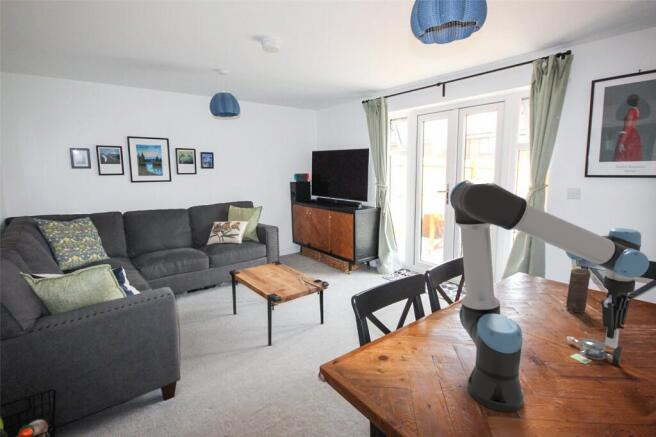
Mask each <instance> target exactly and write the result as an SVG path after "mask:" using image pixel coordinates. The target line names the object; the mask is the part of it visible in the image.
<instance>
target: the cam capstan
mask: <svg viewBox="0 0 656 437" xmlns="http://www.w3.org/2000/svg"><path fill="white" fill-rule="evenodd" d="M566 339H567V341H568V342H571V343H575V344H577V345H579V346H582V348H581V349H582V351H581V352H580V351H579V352H578V354H579V355H581V356H585V355H587V356H589V357H592V358H591V359H593V358H598V359H600V358H603V356H605V358H608V359H610V360H611V364H612V365H614V366H620V364H621V357H622V353H623V352H622V351H623V346H621V345H619V344H618V345H617V348H615V349H614V348H613V351H612V355H611V354H610V353H607V352H606V351H605V349H606V348H607V345H605V342H602V341H599V340H597V339H594V338H589V337H587V338H586V337H585V338H582V339H581V341H580V340H577V339H576V338H575V337H574V336H570V335H568V336H566ZM587 356H586V357H587ZM589 357H588V358H589ZM598 359H597V360H598Z"/></svg>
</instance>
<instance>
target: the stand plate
mask: <svg viewBox="0 0 656 437" xmlns="http://www.w3.org/2000/svg"><path fill="white" fill-rule="evenodd" d="M581 351H582V348H580V349H579V352H581ZM569 357H570V358H572V359H574V360H576V361H578V362H580V363H582V364H584V365H585V364H588V363H591V362H593V360H592V359H594V360H600V361H602V360H605V359H606V357H605V356H603V358H600V359H598V358H592V357H589V356H587V355H582V356H581V355H580V354H579V353H574V354H572V355H569ZM587 357H588V358H587Z"/></svg>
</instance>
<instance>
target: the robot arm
mask: <svg viewBox="0 0 656 437" xmlns="http://www.w3.org/2000/svg"><path fill="white" fill-rule="evenodd" d="M449 202H450V205H451V207H452V208H453V210H454V220H455V224H456V225H457V226H458V227H459V228H460V235H461V248H462V259H463V260H462V261H463V263H462V264H463V275H464V285H465V286H464V288H465V296H464V297H463V298H462V299H461V306H460V308H459V312H458V313H459V320H460V323H461V326H462V327H463V329H464V330H465V331H466V333H467V335H468V336H469V337H470V338H471V341H472V342H473V344H474V345H475V348H476V352H475V364H474V367H473V369H472V371H471V373H470V374H469V377H468V379H467V380H468V381H467V391H468V394H469V395H470V396H471V398H472V399H473V400H475V402H477V403H478V404H480V405H482V406H484V407H486V408H487V409H490V410H493V411H497V412H504V413H511V412H516V411H519V410H520V409H521V408H523V404H524V397H525V396H524V392H523V391H524V390H523V388H522V386H521V381H520V378H519V376H520V364H521V355H522V346H523V339H524V338H523V331H522V328H521V327H520V325H519V324H518V323H517V322H516V321H515V320H513V319H512V318H510V317H509V318H508V317H507V316H506V315H504V314H501V304H500V303H501V301H500V300H499V299H498V298H497V297H496V296H495V289H494V286H495V285H494V274H493V273H494V272H493V259H492V258H493V254H492V242H491V226H492V225H493V226H496V227H500V228H502V229H504V230H506V231H512V230H516V231H517V232H520V233H522V234H525V235H528V236H529V237H531V238H535V239H537V240H538V241H541V242H544V243H546V244H547V245H551V246H553V247H556V248H558V249H560V250H562V251H565V253H566V255H567V257H568V258H569V259H571V260H573V261H580V262H581V261H588V262H590V263H592V264H594V265H597V266H599V267H602V268H604V277H603V284H602V287H603V288H605V289H606V290H607V294H606V298H605V300H601V301H600V305H601V308H602V312H601V313H602V327H604V328H606V333H605V340H604V343H605V345H606V347H609V348H611V349H613V350H614V349H615V348H617V345H619V344H618V343H619V336H620V330H624V329H625V327H624V326H625V323H626V319H627V315H628V311H629V308H630V303H631V301H632V299H633V296H632V295H629V294H632V293H634V292H635V290H636V278H638V277H641V276H643V275H644V274H645V273H646V272H647V271H648V268H649V267H650V261H649V258H648V256H647V255H646V254H645V253H643V252H641V247H642V234H641V232H640V231H639V230H637V229H636V230H635V229H631V228H621V227H620V228H619V227H616V228H615V227H614V228H610V229H609V232H608V235H599V234H598V233H595V232H594V231H593V232H592V231H590V230H588V229H586V228H584V227H581V226H578V225H576V224H574V223H572V222H569V221H567V220H565V219H562V218H560V217H558V216H556V215H553V214H551V213H549V212H546V211H544V210H542V209H539V208H537V207H534V206H532V205H530V204H528V201H527V199H526V198H524V197H521V196H519V195H517V194H515V193H512V192H511V191H509V190H507V189H506V188H503V187H502V186H500V185H498V184H496V183H495V182H491V181H488V180H482V179H477V178H470V179H464V180H461V181H460V182H458V183H456V184H455V185H454V187H453V188H452V190H451V191H450V195H449Z"/></svg>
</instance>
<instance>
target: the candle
mask: <svg viewBox="0 0 656 437" xmlns="http://www.w3.org/2000/svg"><path fill="white" fill-rule="evenodd" d="M590 279H591V270H590V269H589V270H588V269H585V268H573V269H571V270H570V276H569V283H568V290H567V296H566V301H565V308H566V309H567V310H569V311H570V312H574V313H576V312H577V313H584V312H585V311H586V309H587V308H586V307H587V301H588V293H589V292H588V291H589V285H590Z"/></svg>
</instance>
